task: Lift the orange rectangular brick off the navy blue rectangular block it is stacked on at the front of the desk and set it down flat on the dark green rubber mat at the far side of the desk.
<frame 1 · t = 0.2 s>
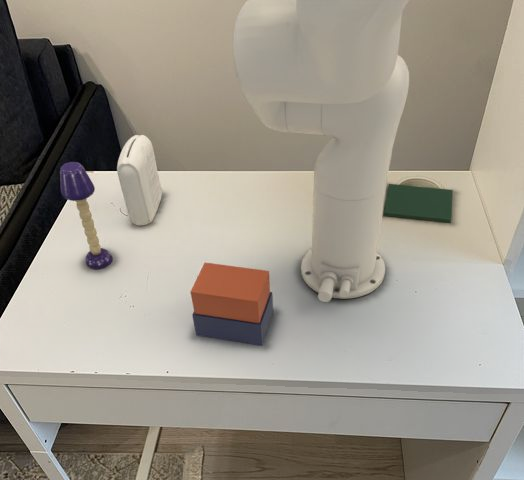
toy lamp: (101, 262, 88), on the table
orange rectangular brick: (232, 303, 74), point 4 cm above the table, touching navy blue rectangular block
photo printer: (147, 210, 97), on the table
mat: (418, 204, 94), on the table
navy blue rectangular block: (235, 323, 77), on the table, touching orange rectangular brick
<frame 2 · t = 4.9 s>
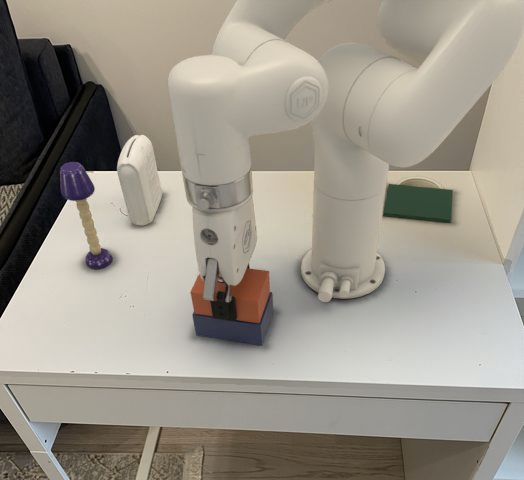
hand: (232, 300, 73), 5 cm above the table, tool pointing down, fingers closed on orange rectangular brick, 6 cm apart
orange rectangular brick: (232, 303, 74), point 4 cm above the table, touching gripper, navy blue rectangular block
everything else where it was.
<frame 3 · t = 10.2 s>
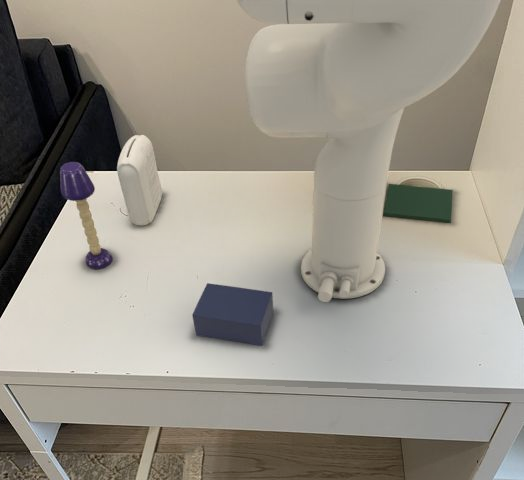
hand: (348, 80, 82), 20 cm above the table, tool pointing down, fingers closed on orange rectangular brick, 6 cm apart
orange rectangular brick: (347, 84, 83), point 19 cm above the table, touching gripper
navy blue rectangular block: (235, 323, 77), on the table
everything else where it was.
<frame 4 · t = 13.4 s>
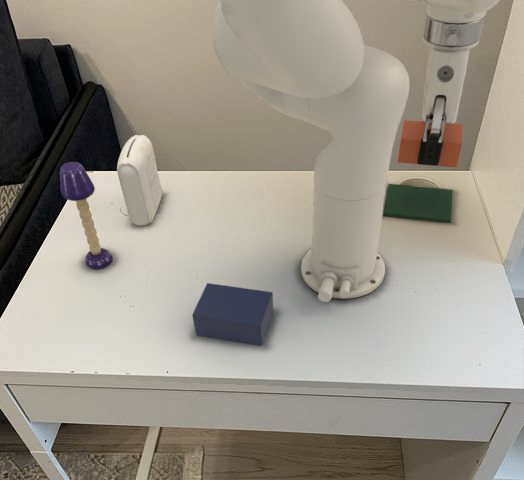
hand: (428, 151, 87), 10 cm above the table, tool pointing down, fingers closed on orange rectangular brick, 6 cm apart
orange rectangular brick: (427, 155, 87), point 9 cm above the table, touching gripper
everything else where it was.
when the fingers open (1 cm above the table, at t = 15.8 s): orange rectangular brick stays where it is, resting on mat.
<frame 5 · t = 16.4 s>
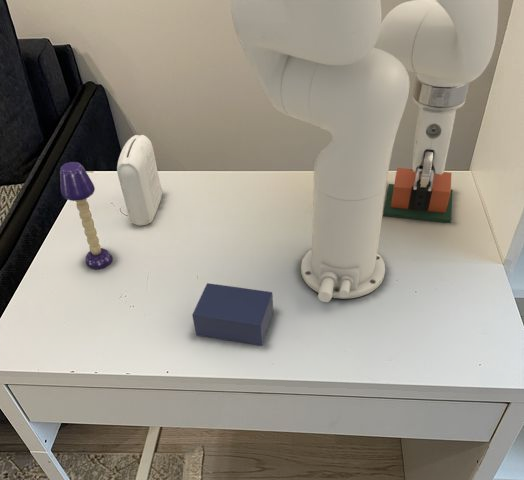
hand: (419, 193, 92), 2 cm above the table, tool pointing down, fingers open, 9 cm apart
orange rectangular brick: (418, 200, 94), point 1 cm above the table, touching mat
everything else where it was.
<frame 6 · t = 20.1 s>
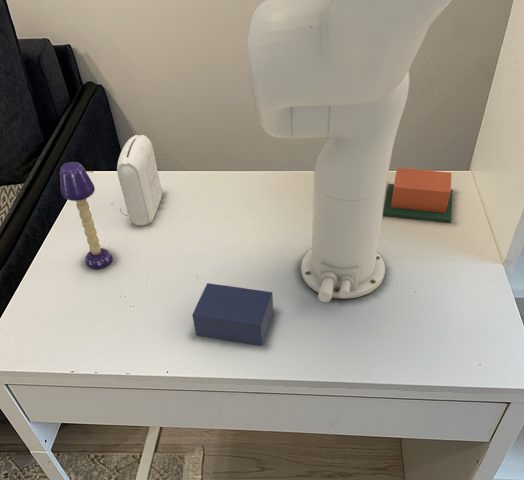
hand: (347, 5, 79), 28 cm above the table, tool pointing down, fingers open, 9 cm apart
nothing on the table moved.
at the end: orange rectangular brick inside the target area on the mat (0.2 cm from its centre), point 0.6 cm above the mat's base; orange rectangular brick touching mat; navy blue rectangular block moved 0.0 cm from its start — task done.
